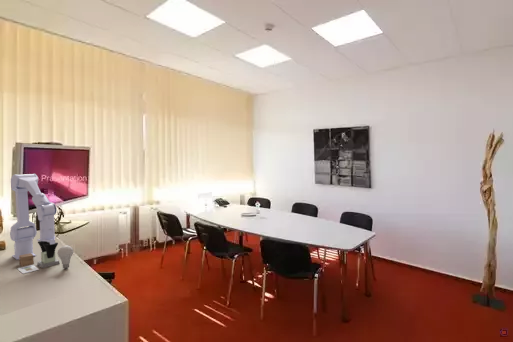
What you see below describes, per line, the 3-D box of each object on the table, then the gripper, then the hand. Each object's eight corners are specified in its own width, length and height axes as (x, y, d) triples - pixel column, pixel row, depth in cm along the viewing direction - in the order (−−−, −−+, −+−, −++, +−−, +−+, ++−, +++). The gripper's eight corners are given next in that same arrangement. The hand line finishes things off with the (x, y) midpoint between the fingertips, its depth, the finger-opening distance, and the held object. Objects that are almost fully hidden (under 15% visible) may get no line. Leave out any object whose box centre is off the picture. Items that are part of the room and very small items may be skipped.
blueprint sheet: (16, 268, 132) (16, 268, 132) (32, 264, 137) (32, 264, 137) (22, 273, 126) (22, 273, 126) (39, 269, 131) (39, 269, 131)
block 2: (41, 261, 137) (41, 252, 137) (52, 258, 141) (51, 250, 141) (44, 263, 135) (44, 254, 134) (55, 260, 138) (55, 251, 138)
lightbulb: (66, 271, 128) (65, 248, 128) (54, 271, 129) (53, 247, 129) (77, 266, 134) (76, 244, 134) (66, 266, 135) (65, 243, 135)
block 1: (19, 264, 138) (19, 255, 138) (31, 262, 141) (30, 253, 141) (22, 266, 135) (21, 257, 135) (33, 264, 139) (33, 254, 138)
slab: (37, 264, 137) (37, 261, 137) (54, 260, 143) (54, 257, 143) (42, 268, 133) (42, 264, 133) (59, 263, 138) (59, 260, 138)
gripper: (32, 228, 139) (33, 255, 139) (42, 232, 130) (43, 261, 130) (49, 225, 144) (50, 251, 145) (59, 229, 135) (60, 257, 136)
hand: (48, 256), depth 138 cm, fingers open, 6 cm apart
